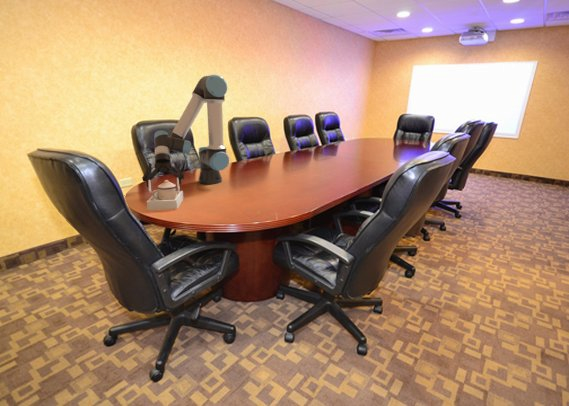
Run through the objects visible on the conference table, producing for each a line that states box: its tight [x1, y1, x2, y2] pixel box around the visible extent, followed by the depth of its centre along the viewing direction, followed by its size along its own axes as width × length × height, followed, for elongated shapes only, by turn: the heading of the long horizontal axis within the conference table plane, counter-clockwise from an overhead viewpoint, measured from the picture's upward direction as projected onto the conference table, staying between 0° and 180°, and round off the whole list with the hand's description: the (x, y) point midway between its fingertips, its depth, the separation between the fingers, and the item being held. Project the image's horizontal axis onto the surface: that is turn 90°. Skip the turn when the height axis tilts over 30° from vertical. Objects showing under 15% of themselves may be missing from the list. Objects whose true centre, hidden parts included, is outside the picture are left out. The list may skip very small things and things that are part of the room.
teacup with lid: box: [151, 179, 178, 200], centre depth 158 cm, size 12×9×12 cm
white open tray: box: [146, 190, 184, 211], centre depth 160 cm, size 14×17×4 cm
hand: (164, 191), depth 156 cm, fingers open, 13 cm apart
